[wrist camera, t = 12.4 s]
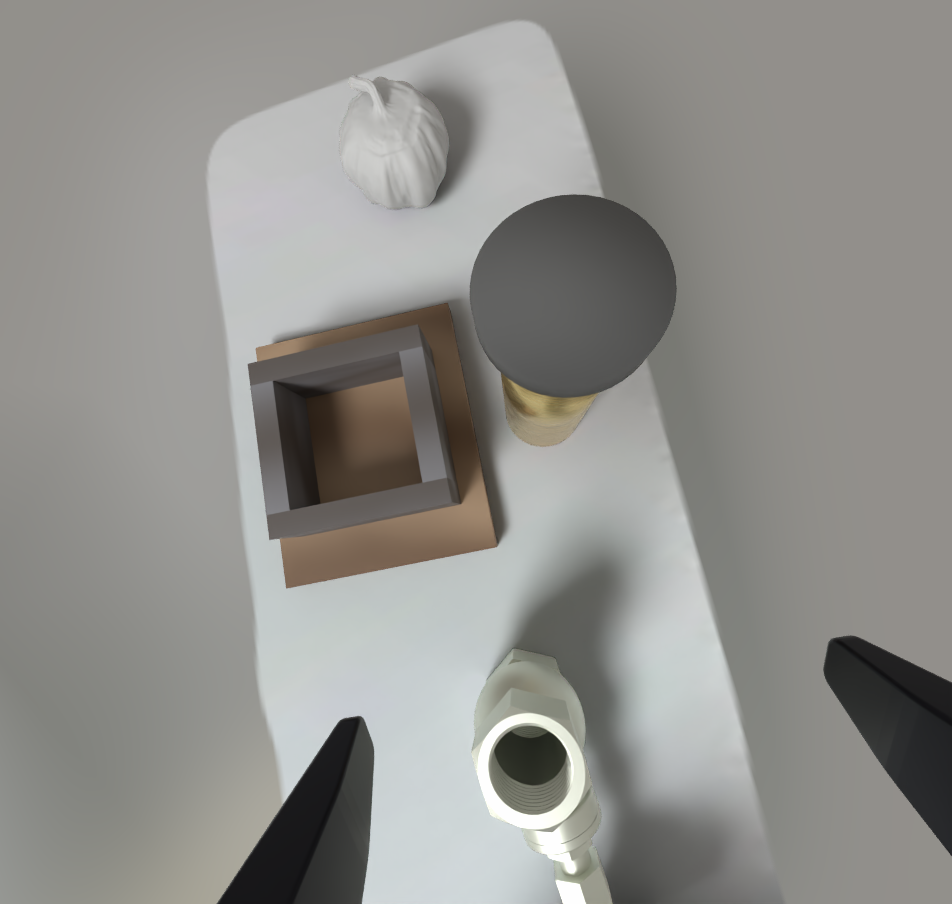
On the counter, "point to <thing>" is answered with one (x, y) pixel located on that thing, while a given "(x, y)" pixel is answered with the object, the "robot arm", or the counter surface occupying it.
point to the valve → (541, 769)
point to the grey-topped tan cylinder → (568, 307)
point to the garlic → (393, 143)
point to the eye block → (369, 448)
